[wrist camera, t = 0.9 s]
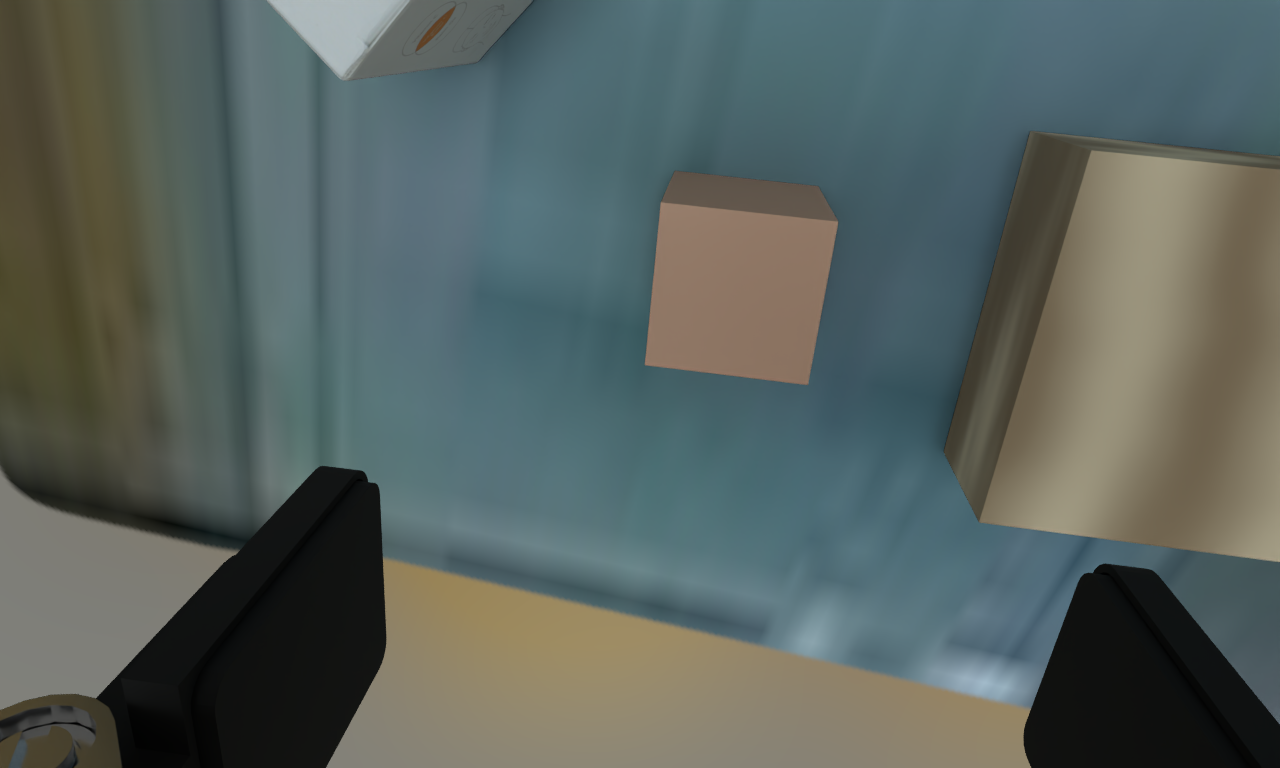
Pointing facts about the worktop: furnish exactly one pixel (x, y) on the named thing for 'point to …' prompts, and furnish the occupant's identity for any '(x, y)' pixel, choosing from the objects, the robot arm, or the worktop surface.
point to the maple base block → (1130, 350)
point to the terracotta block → (739, 277)
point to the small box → (398, 32)
